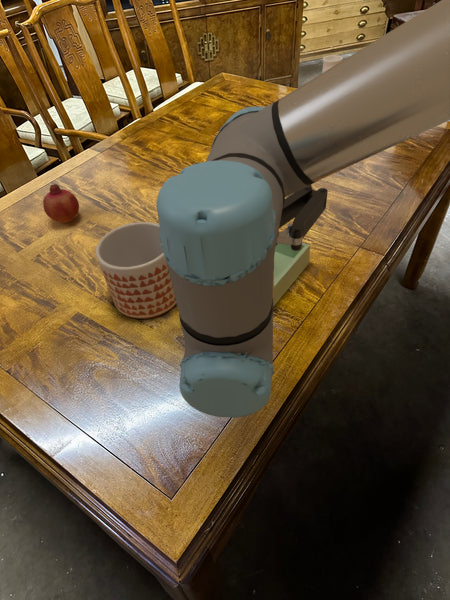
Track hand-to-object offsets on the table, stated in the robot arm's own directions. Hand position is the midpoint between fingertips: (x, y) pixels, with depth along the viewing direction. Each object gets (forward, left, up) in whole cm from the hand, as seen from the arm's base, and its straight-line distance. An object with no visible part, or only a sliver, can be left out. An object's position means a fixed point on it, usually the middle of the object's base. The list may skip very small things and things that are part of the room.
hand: (248, 169), depth 58 cm
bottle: (+14, -57, -28) cm, 65 cm away
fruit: (+56, -1, -28) cm, 63 cm away
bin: (+5, -8, -28) cm, 30 cm away
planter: (+20, +8, -28) cm, 35 cm away
